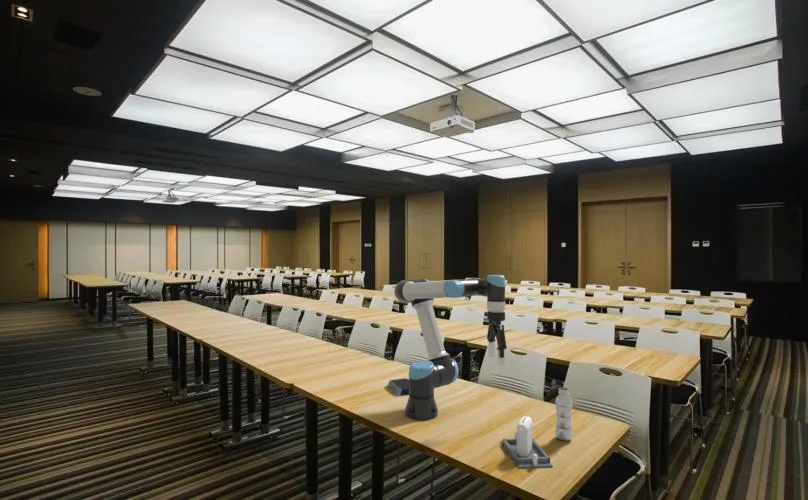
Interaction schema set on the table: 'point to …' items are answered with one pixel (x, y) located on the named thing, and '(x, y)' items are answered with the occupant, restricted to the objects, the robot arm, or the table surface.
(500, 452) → the table surface
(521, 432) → the photo printer
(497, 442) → the table surface
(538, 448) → the tray
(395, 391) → the external hard drive
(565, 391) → the plastic bottle
